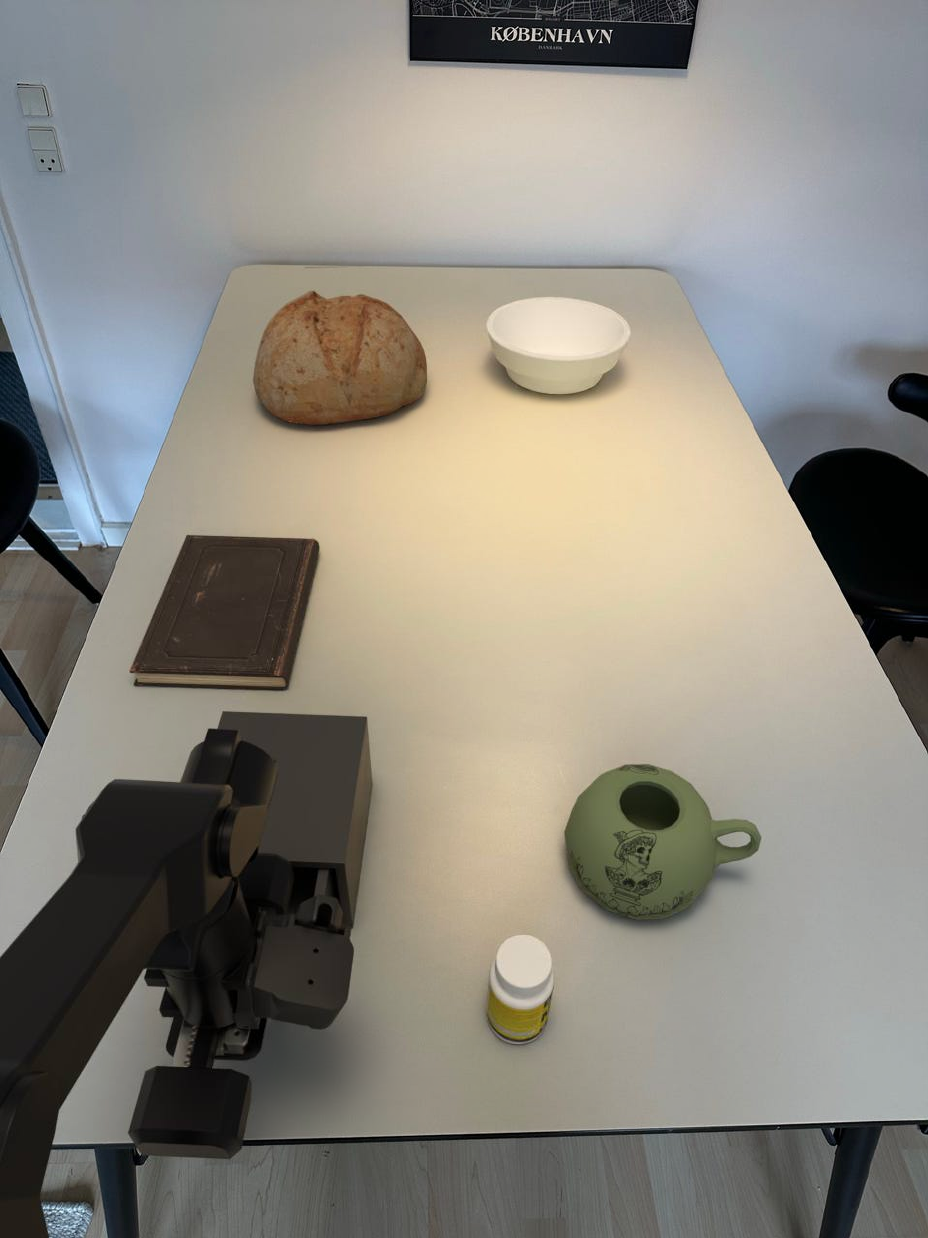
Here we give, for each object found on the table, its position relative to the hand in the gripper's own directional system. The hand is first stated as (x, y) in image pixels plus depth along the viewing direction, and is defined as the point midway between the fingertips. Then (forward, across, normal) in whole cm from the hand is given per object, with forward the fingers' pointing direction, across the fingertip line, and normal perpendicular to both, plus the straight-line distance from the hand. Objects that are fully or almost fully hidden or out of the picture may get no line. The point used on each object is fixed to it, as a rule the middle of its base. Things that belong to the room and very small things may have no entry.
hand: (240, 1044), depth 63 cm
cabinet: (+4, +18, 0) cm, 19 cm away
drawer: (+3, +10, 0) cm, 11 cm away
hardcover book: (+4, +49, +12) cm, 50 cm away
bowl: (+4, +108, -26) cm, 112 cm away
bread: (+4, +100, +6) cm, 100 cm away
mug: (+4, +18, -32) cm, 37 cm away
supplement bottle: (+4, +4, -20) cm, 20 cm away
